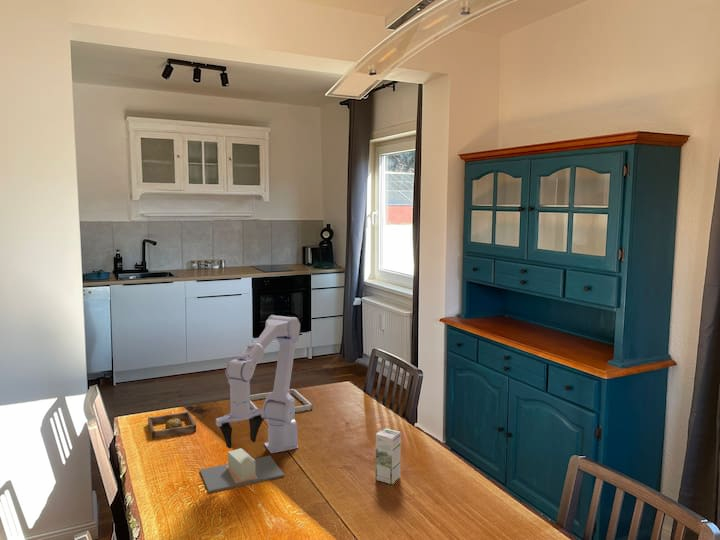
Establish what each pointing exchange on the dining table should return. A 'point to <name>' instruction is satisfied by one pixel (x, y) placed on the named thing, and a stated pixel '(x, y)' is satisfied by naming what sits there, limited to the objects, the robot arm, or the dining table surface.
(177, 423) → the fruit
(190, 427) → the fruit rim
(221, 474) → the mat
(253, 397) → the box rim
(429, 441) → the dining table surface
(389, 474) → the syrup box
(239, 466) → the block
